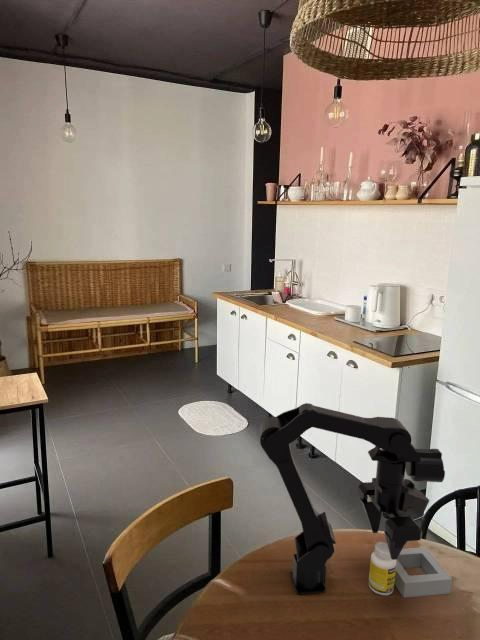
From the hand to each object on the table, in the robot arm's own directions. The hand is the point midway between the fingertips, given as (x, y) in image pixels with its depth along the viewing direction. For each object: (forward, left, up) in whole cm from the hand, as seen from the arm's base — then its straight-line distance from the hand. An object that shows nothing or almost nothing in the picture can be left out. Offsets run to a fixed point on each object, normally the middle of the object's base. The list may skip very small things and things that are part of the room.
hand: (384, 545), depth 102 cm
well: (+9, +2, -10) cm, 14 cm away
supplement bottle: (0, 0, -11) cm, 11 cm away
